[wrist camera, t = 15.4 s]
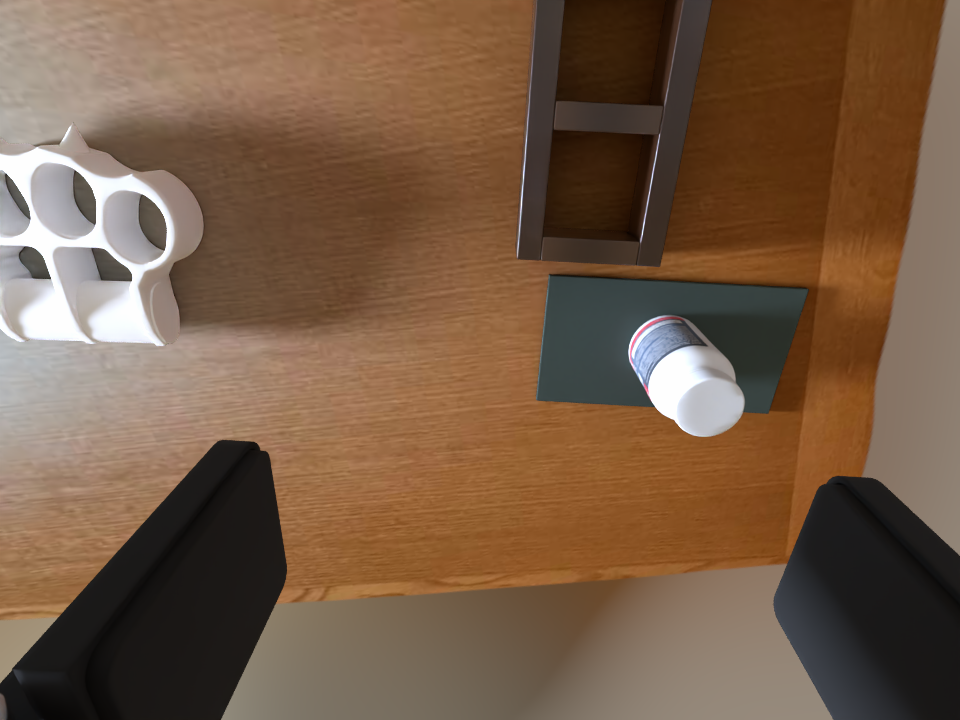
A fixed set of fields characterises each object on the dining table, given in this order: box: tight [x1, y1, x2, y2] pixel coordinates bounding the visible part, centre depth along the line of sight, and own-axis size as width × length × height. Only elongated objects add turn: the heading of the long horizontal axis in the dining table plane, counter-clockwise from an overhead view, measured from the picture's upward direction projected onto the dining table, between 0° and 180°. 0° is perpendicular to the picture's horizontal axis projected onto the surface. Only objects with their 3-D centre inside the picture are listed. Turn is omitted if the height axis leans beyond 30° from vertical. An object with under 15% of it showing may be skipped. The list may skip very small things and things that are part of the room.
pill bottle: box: [629, 315, 745, 437], centre depth 33 cm, size 5×5×9 cm
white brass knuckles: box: [0, 122, 204, 346], centre depth 34 cm, size 3×18×15 cm
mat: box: [536, 274, 809, 414], centre depth 38 cm, size 18×10×1 cm, turn 88°
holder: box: [515, 0, 712, 267], centre depth 30 cm, size 9×16×4 cm, turn 177°
